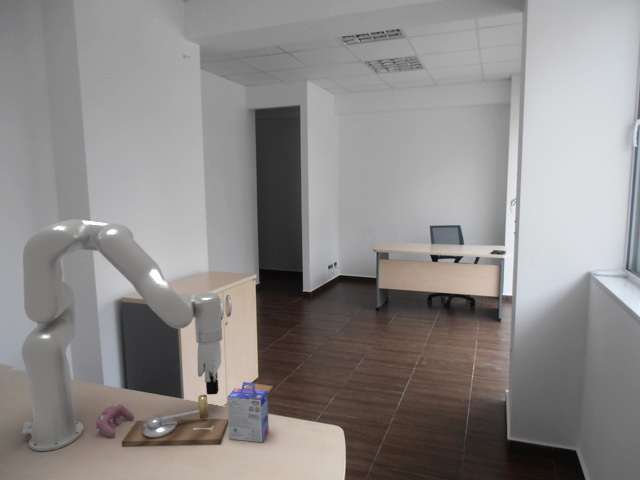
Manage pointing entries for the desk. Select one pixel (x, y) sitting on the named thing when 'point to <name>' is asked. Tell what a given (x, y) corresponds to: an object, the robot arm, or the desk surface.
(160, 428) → the silver lever with knob
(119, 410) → the video game controller
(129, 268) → the robot arm
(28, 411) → the desk surface
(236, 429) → the ink cartridge box
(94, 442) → the desk surface
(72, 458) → the desk surface
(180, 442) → the stand plate
